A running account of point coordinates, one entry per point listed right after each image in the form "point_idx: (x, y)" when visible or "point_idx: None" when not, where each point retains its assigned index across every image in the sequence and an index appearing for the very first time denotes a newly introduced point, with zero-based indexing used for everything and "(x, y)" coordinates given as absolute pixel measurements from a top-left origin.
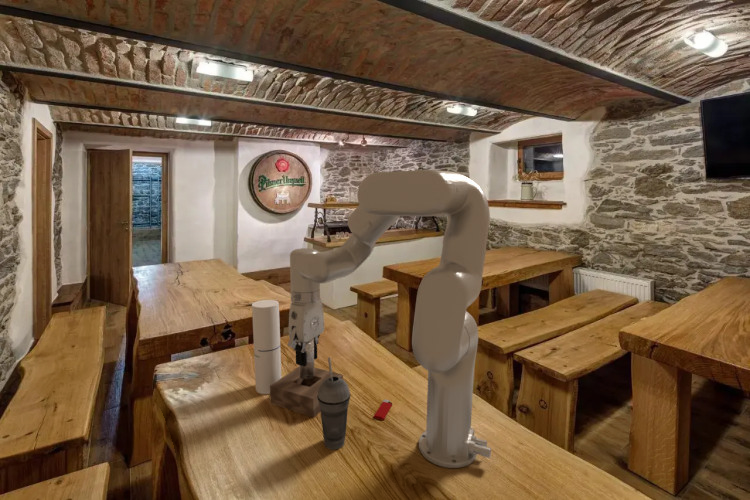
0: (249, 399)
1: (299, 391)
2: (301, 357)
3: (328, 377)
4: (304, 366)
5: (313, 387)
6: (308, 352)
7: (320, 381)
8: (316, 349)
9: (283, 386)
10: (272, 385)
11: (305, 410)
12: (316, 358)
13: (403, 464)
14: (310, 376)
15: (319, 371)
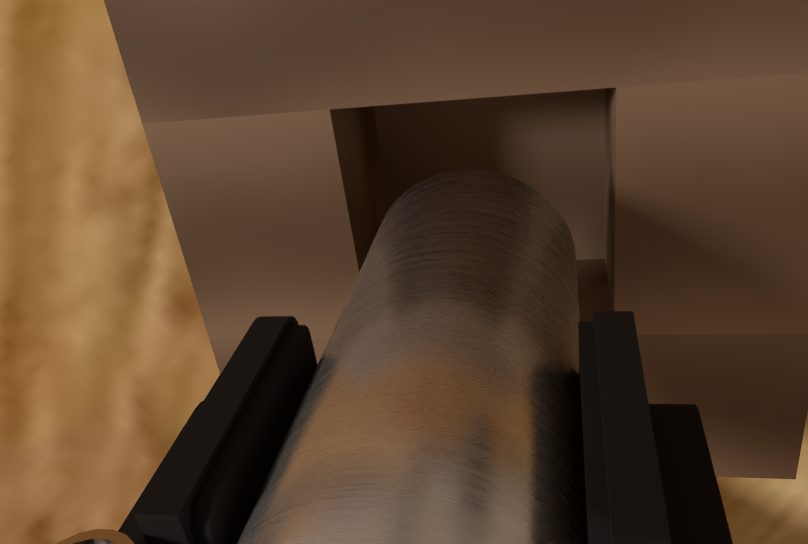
0: (767, 508)
1: (779, 132)
2: (717, 493)
3: (266, 40)
4: (570, 339)
5: (596, 37)
6: (514, 486)
7: (412, 63)
8: (207, 438)
9: (748, 362)
10: (781, 461)
11: None
12: (280, 317)
13: None
14: (511, 188)
15: (235, 235)
